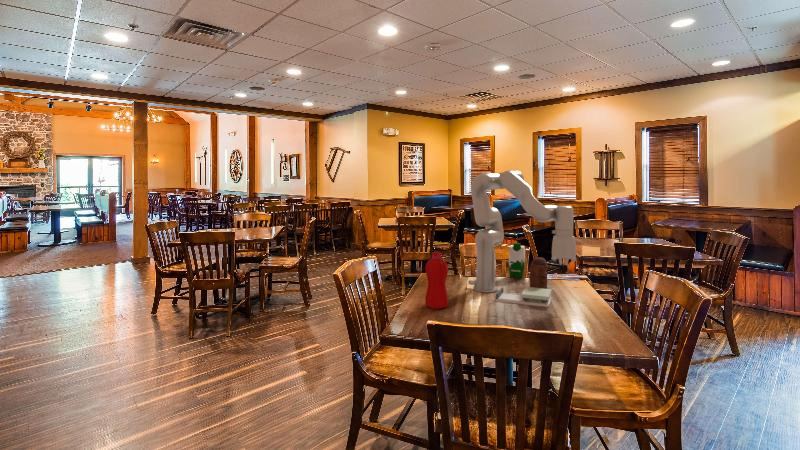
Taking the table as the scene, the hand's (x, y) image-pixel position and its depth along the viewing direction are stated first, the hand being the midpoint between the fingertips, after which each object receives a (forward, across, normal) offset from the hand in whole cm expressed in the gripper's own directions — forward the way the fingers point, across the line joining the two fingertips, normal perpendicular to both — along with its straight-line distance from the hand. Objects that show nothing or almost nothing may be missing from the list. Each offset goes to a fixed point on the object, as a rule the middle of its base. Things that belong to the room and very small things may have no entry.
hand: (563, 273), depth 203 cm
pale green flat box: (+13, -12, 0) cm, 18 cm away
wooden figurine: (+14, -13, +17) cm, 26 cm away
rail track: (+14, -18, 0) cm, 23 cm away
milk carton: (+14, -29, +47) cm, 57 cm away
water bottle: (+14, -52, -26) cm, 60 cm away
